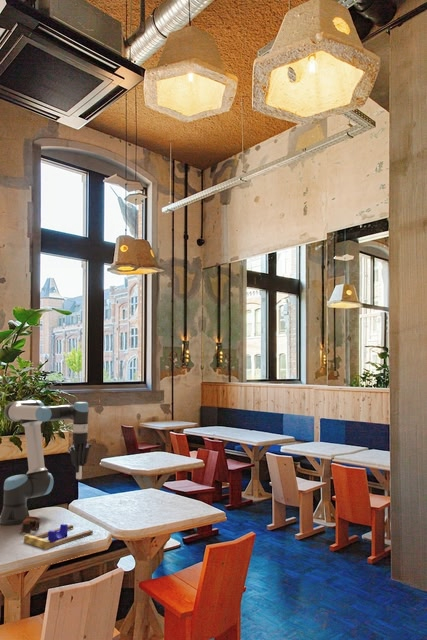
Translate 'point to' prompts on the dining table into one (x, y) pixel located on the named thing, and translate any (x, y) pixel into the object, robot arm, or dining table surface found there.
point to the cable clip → (58, 533)
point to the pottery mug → (30, 524)
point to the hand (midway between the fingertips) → (78, 478)
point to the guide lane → (47, 544)
